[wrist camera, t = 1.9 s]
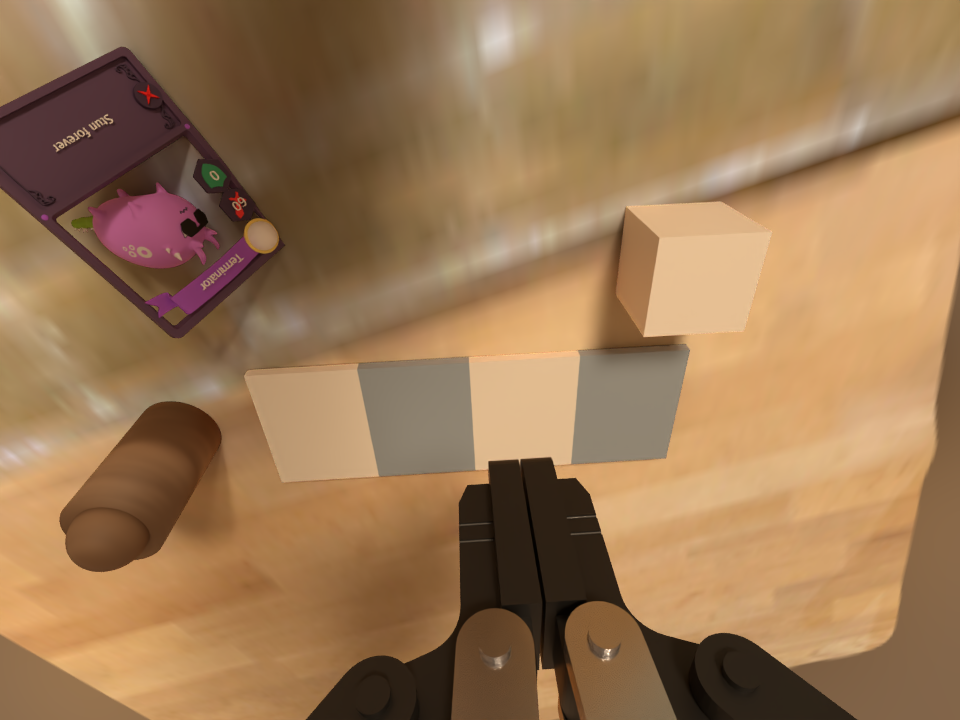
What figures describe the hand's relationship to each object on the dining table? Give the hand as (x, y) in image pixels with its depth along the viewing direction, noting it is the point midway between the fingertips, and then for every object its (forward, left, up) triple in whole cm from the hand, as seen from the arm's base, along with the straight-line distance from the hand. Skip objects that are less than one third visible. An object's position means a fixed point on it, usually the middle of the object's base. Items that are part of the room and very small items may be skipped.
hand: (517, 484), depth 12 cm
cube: (0, +9, -15) cm, 17 cm away
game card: (-8, -16, -13) cm, 22 cm away
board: (+9, -1, -15) cm, 17 cm away
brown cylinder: (+9, -18, -15) cm, 25 cm away
